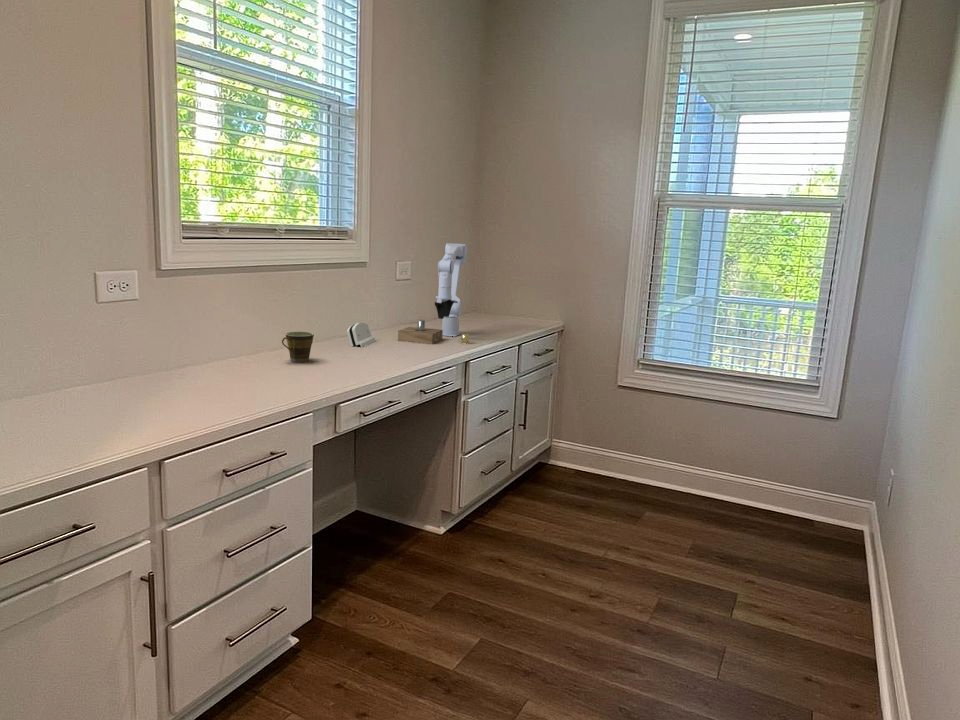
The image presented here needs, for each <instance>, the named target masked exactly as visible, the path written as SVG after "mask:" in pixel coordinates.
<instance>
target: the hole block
mask: <svg viewBox="0 0 960 720" xmlns="http://www.w3.org/2000/svg"><path fill="white" fill-rule="evenodd" d="M417 327H418V326H408V327H405V328H402V329H399V330H397V341H398V340H399V341H398V342H404V341H408V342H407V343H414V342H418V343H417V344H424V343H427V344H426V345H434V344H436V343H438V342H440V341H442V340H443V330H442V329H438V328H427V327H425V331H417ZM439 340H440V341H439ZM437 341H438V342H437ZM435 342H436V343H435ZM433 343H434V344H433Z"/></svg>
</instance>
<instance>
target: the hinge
mask: <svg viewBox="0 0 960 720" xmlns="http://www.w3.org/2000/svg"><path fill="white" fill-rule="evenodd" d="M346 333H347V338H348V341H349V345H350V347H351V346H352V347H355V346H359V345H360V347H361V348H364V347H366V346H368V344H369V345H371V344H373V343H375V342H376V341H377V340H376V337H375V336H373V335H372V333H371V330H370V328H369V325H368V323H366V322H356V323H354V324H351V325H350V326H349V327H348V328H347V330H346ZM374 341H375V342H374ZM372 342H373V343H372ZM370 343H371V344H370ZM365 345H366V346H365ZM363 346H364V347H363Z"/></svg>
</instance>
